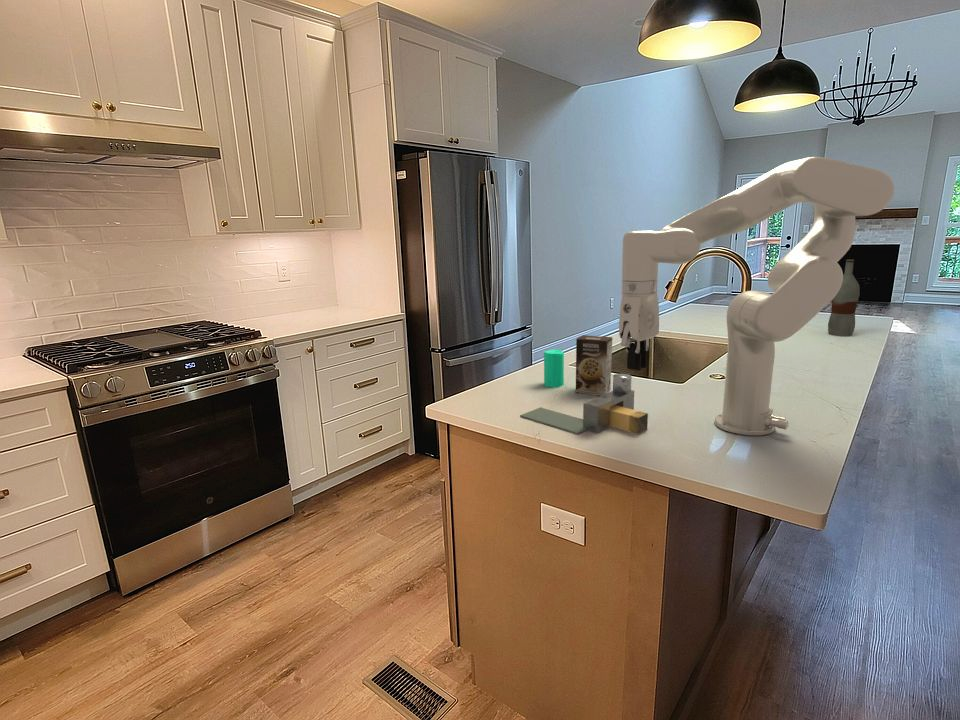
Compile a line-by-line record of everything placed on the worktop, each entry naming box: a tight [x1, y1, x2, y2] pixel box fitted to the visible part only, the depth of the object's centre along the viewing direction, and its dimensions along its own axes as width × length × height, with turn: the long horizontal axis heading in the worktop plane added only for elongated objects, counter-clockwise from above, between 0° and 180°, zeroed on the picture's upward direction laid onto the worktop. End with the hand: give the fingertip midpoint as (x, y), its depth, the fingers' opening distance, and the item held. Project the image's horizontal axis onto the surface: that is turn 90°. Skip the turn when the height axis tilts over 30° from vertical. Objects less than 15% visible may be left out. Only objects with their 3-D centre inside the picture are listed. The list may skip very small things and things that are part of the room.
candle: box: [543, 349, 565, 388], centre depth 158 cm, size 6×6×12 cm
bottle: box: [827, 259, 861, 337], centre depth 207 cm, size 9×9×30 cm
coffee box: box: [575, 334, 613, 396], centre depth 149 cm, size 9×6×16 cm
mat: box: [520, 407, 588, 435], centre depth 129 cm, size 18×8×1 cm, turn 43°
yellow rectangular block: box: [609, 405, 649, 435], centre depth 126 cm, size 15×4×4 cm, turn 42°
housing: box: [582, 373, 635, 434], centre depth 126 cm, size 4×16×10 cm, turn 134°
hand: (636, 367), depth 119 cm, fingers closed
